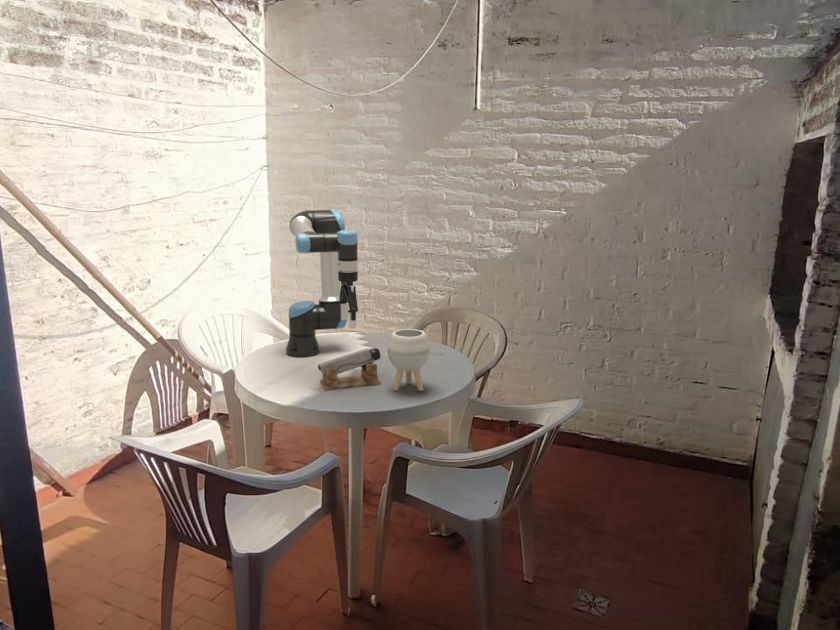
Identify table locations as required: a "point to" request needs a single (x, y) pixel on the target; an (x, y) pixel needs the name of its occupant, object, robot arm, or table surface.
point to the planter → (408, 355)
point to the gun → (351, 361)
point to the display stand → (350, 378)
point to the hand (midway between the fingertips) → (348, 323)
